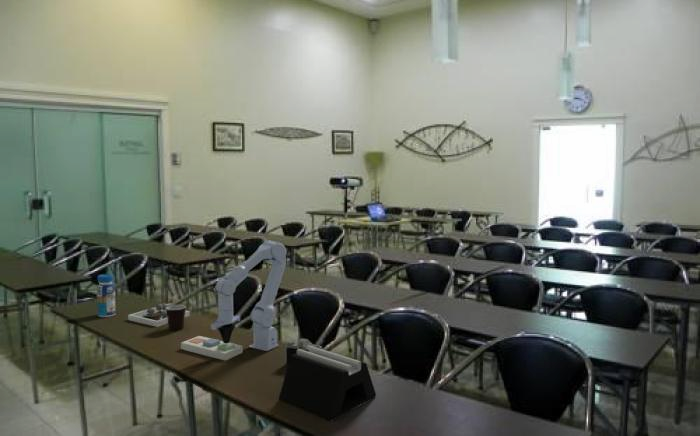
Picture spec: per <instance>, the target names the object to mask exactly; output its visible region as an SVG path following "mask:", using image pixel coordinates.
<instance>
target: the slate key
mask: <svg viewBox="0 0 700 436" xmlns="http://www.w3.org/2000/svg"><path fill="white" fill-rule="evenodd" d="M210 338H211V337H210ZM220 341H221V340H220V339H215V338H211V339H208V340H206V341H203V345H204V346H208V347H214V346H216V345H219V344H220Z"/></svg>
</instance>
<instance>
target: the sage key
mask: <svg viewBox="0 0 700 436" xmlns="http://www.w3.org/2000/svg"><path fill="white" fill-rule="evenodd" d="M235 344H236V343H233V342H229V343H222V344H219V345H218V349H220V350H224V351H228V350H231V349H233V348H235Z"/></svg>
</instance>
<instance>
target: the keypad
mask: <svg viewBox="0 0 700 436" xmlns="http://www.w3.org/2000/svg"><path fill="white" fill-rule="evenodd" d="M195 338H201V339H205V340H208V339H211V337H206V336H201V335H197V336H195V337H192V338H189V339H187V340H185V341H182V342H181V343H180V350H182V349H183V351H187V352H191V353H194V354H199V355H203V356H206V357H210V358H214V359H218V360H222V361H228V360H230V359H232V358H234V357H236V356H238V355H240V354H243V352H244V351H243V350H244V348H243V347H244V346H243V345H240V344H236V343H234V344H235V348H233V349H231V350H228V351H224V350H220V349H218V345H216V346H214V347H208V346H204V345H203V342H201V343H198V344H196V343H192V342H189V341H190V340H193V339H195ZM222 343H223V340H220V344H222Z"/></svg>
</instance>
